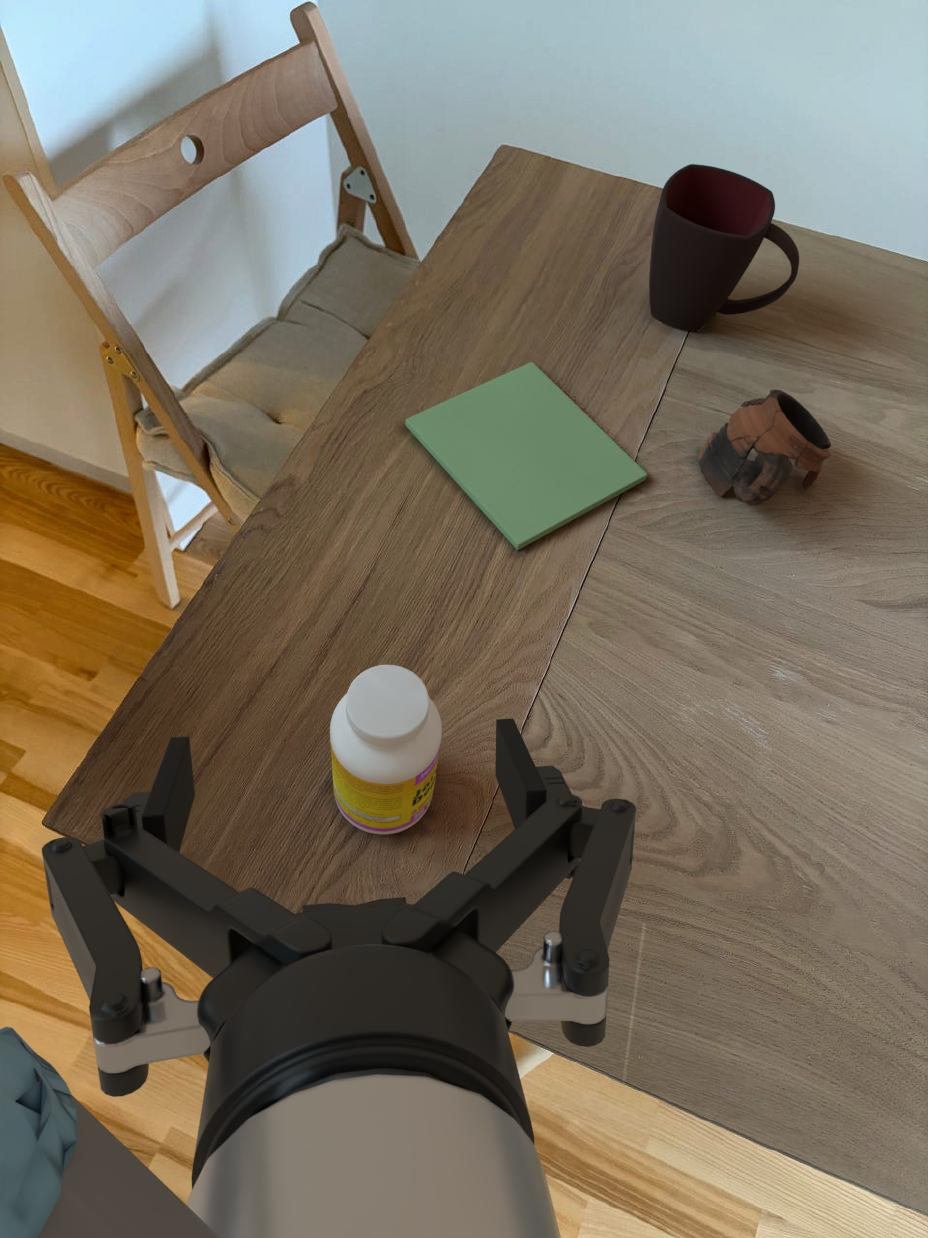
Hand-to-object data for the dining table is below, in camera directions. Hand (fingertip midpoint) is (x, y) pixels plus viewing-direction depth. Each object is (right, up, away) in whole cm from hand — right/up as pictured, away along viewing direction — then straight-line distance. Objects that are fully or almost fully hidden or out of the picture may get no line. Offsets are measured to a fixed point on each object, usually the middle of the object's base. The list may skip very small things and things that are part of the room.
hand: (347, 756), depth 40 cm
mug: (+28, +35, +53) cm, 69 cm away
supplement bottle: (0, -6, +23) cm, 24 cm away
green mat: (+10, +20, +41) cm, 47 cm away
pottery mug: (+30, +18, +41) cm, 54 cm away
